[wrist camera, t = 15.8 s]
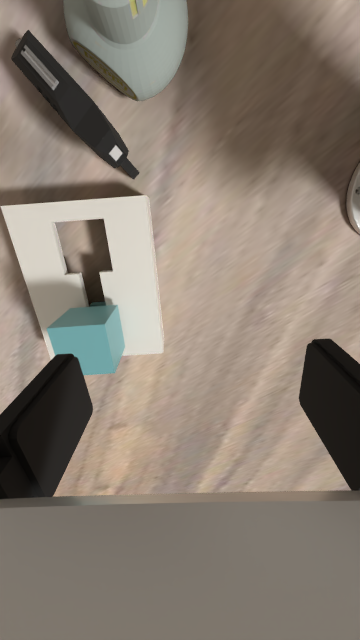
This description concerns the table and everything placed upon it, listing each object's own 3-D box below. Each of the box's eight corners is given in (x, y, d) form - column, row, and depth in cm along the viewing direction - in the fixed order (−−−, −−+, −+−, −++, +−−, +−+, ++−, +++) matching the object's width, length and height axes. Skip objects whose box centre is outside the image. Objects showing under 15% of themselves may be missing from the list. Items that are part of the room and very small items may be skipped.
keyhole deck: (149, 198, 30) (145, 195, 26) (164, 339, 37) (163, 353, 34) (22, 207, 30) (0, 206, 26) (63, 346, 38) (51, 360, 34)
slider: (125, 293, 34) (104, 324, 24) (131, 330, 37) (115, 373, 27) (84, 296, 34) (46, 328, 24) (92, 333, 37) (61, 376, 27)
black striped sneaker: (82, 97, 30) (2, -1, 21) (160, 183, 27) (109, 116, 18) (69, 116, 31) (-15, 31, 21) (143, 202, 28) (86, 148, 19)
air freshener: (65, 48, 24) (-1, -57, 15) (103, -54, 22) (50, -256, 12) (156, 124, 27) (147, 74, 18) (199, 41, 24) (215, -69, 15)
